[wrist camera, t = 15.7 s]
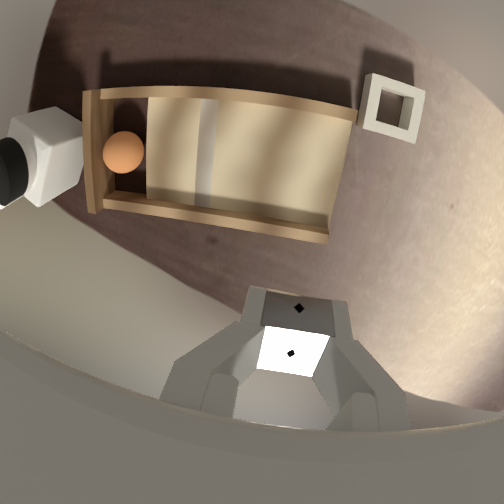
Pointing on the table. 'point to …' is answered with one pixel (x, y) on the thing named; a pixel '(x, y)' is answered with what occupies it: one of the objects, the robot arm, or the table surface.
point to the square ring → (408, 113)
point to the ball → (123, 152)
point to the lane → (225, 158)
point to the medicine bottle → (40, 156)
